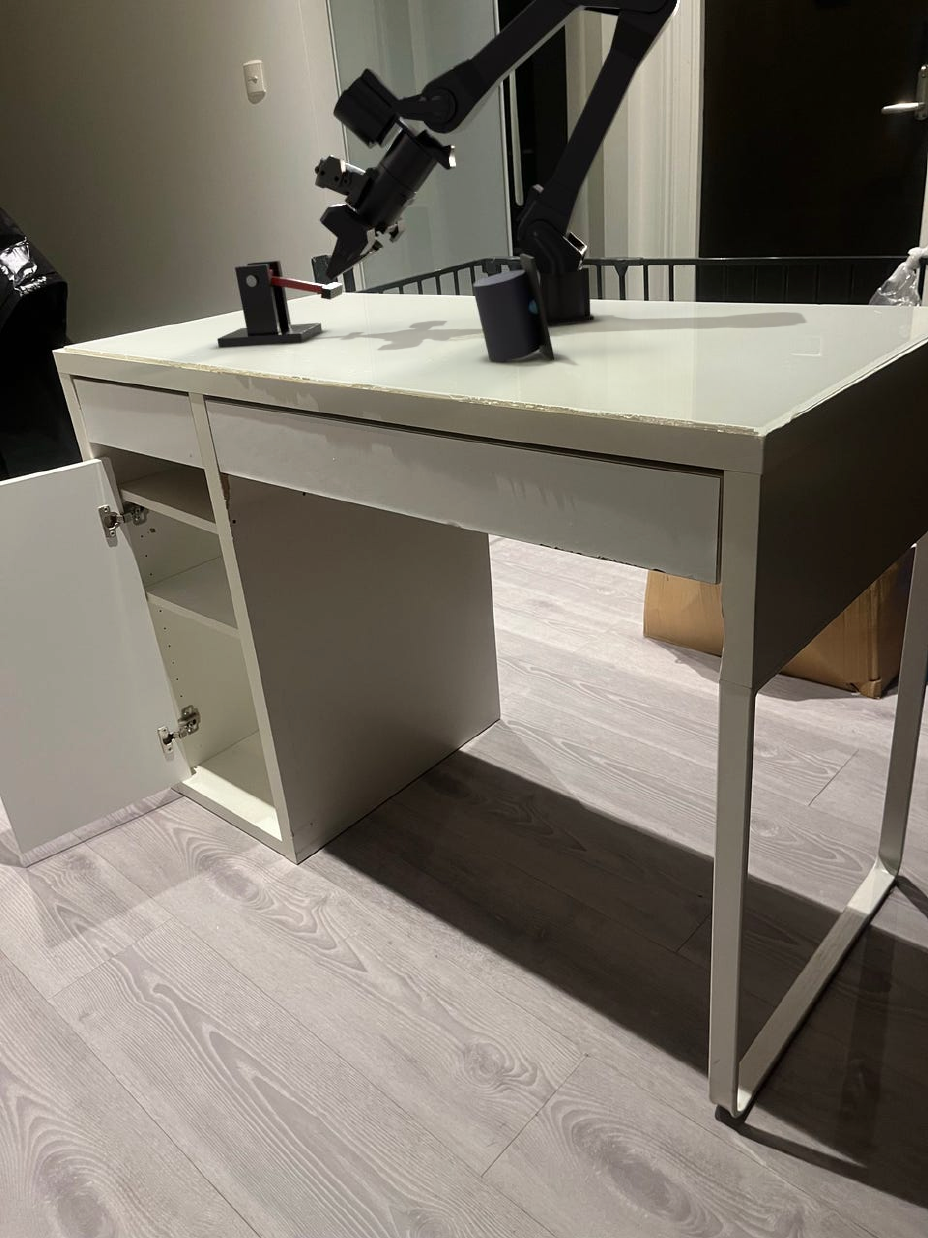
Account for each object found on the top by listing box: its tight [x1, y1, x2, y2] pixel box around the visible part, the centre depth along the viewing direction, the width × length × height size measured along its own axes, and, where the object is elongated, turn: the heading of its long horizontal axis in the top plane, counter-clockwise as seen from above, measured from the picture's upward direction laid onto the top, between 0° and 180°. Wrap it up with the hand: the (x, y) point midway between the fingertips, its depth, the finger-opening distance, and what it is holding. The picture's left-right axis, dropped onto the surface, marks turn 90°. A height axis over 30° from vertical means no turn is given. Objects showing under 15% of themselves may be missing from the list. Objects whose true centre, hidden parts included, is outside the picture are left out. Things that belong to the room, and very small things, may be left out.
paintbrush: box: [270, 269, 344, 301], centre depth 123 cm, size 12×5×2 cm, turn 79°
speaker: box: [472, 253, 555, 363], centre depth 98 cm, size 8×6×10 cm
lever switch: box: [216, 260, 323, 349], centre depth 124 cm, size 12×8×10 cm, turn 79°
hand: (328, 276), depth 121 cm, fingers closed
